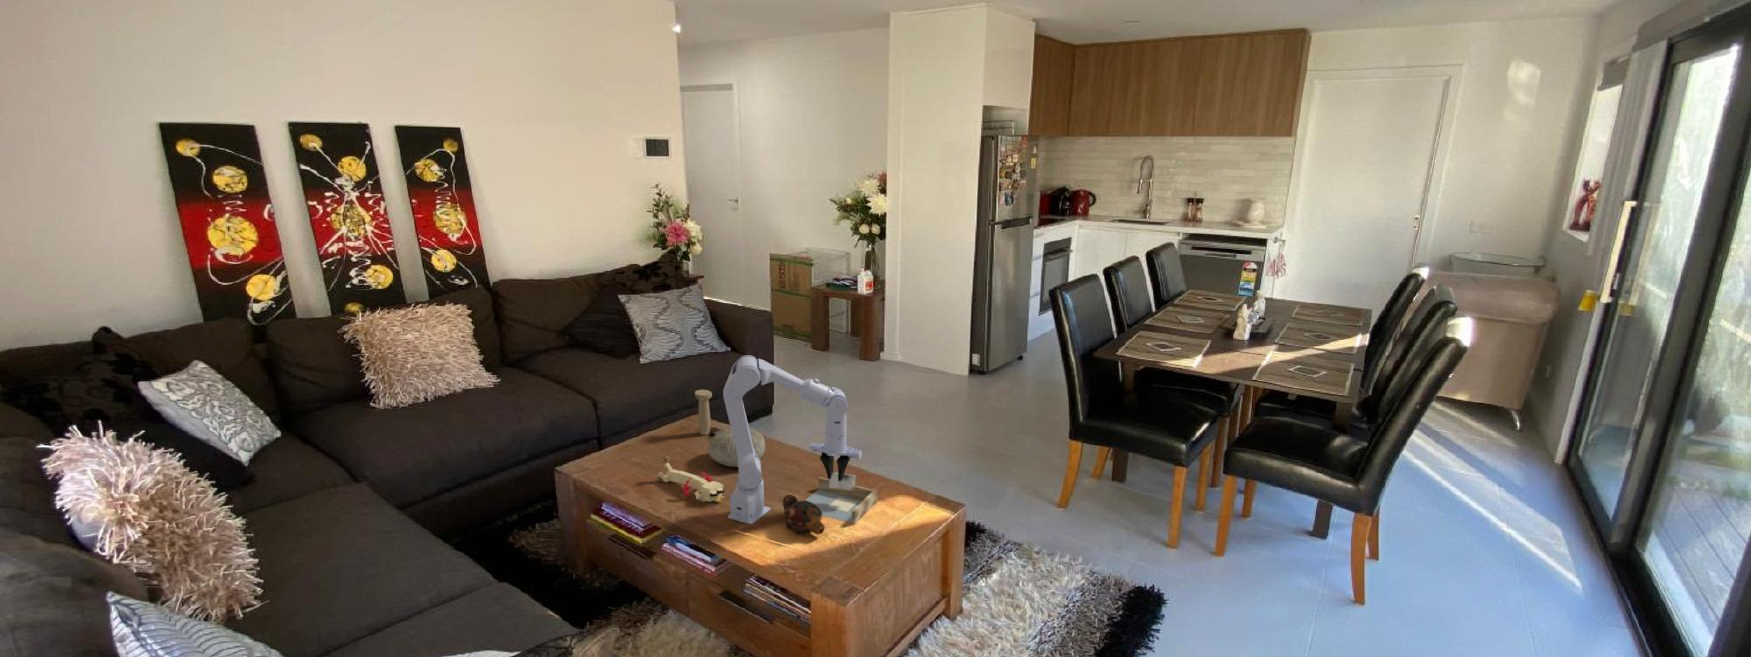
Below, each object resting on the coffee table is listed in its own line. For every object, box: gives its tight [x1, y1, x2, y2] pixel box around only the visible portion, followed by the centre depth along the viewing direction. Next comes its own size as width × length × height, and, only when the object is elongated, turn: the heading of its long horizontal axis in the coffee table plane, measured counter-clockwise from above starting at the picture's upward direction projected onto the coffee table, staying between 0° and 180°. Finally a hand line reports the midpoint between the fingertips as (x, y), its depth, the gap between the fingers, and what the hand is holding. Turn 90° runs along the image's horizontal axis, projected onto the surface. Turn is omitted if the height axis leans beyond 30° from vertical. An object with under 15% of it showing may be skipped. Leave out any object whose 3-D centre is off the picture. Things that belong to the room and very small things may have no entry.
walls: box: [818, 476, 878, 525], centre depth 212 cm, size 14×18×4 cm
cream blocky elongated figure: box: [656, 455, 725, 503], centre depth 219 cm, size 10×9×25 cm
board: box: [804, 488, 863, 524], centre depth 212 cm, size 13×18×1 cm
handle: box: [694, 389, 713, 436], centre depth 258 cm, size 5×6×15 cm
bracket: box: [829, 471, 857, 490], centre depth 211 cm, size 6×6×4 cm
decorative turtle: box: [782, 494, 826, 536], centre depth 200 cm, size 10×15×8 cm, turn 51°
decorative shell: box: [707, 427, 766, 468], centre depth 239 cm, size 18×18×10 cm
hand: (835, 478), depth 210 cm, fingers closed on bracket, 2 cm apart
